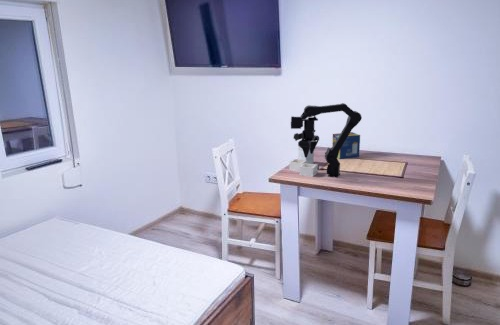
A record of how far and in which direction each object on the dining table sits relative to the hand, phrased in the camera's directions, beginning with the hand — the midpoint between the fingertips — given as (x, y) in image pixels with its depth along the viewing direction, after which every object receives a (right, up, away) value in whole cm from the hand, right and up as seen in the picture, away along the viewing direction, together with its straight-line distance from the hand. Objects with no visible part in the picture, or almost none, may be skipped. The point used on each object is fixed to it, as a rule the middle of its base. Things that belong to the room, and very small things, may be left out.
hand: (308, 155), depth 212 cm
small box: (+2, -6, +24) cm, 25 cm away
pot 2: (0, -12, +3) cm, 12 cm away
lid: (+6, -10, +12) cm, 17 cm away
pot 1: (-4, -9, +13) cm, 17 cm away
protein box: (+32, 0, +43) cm, 54 cm away
